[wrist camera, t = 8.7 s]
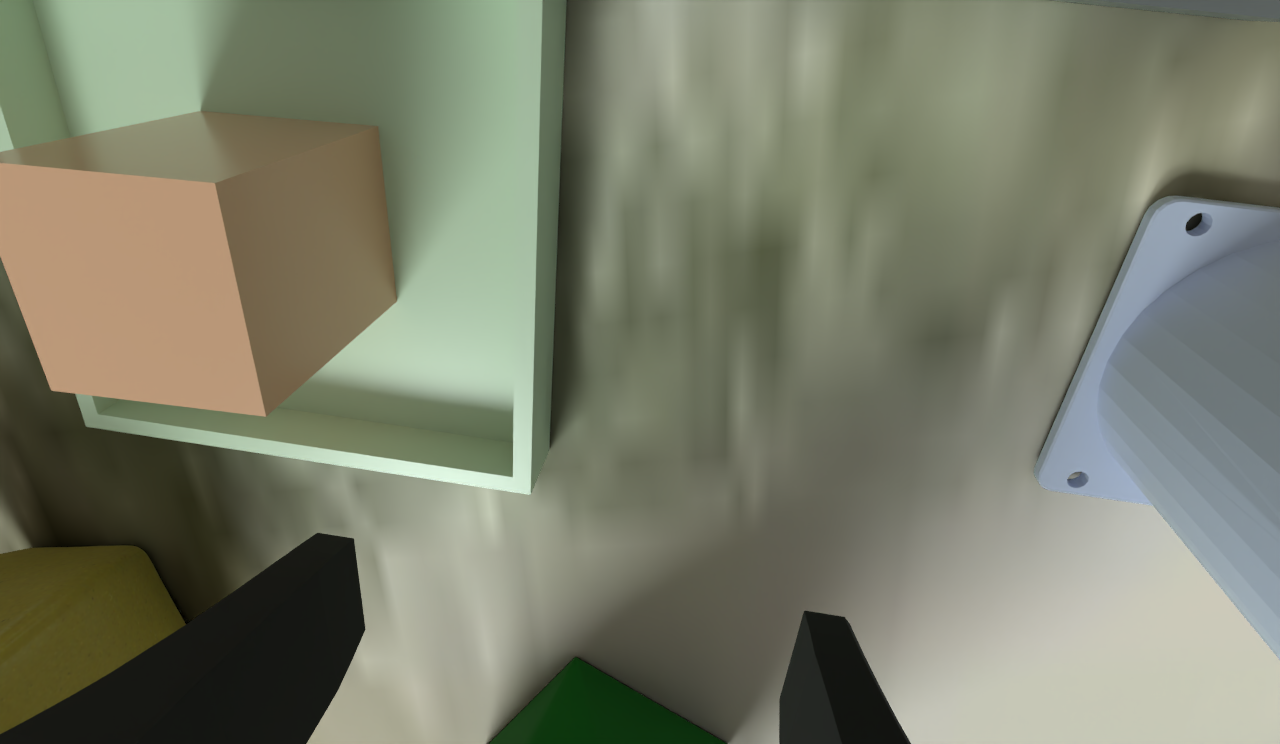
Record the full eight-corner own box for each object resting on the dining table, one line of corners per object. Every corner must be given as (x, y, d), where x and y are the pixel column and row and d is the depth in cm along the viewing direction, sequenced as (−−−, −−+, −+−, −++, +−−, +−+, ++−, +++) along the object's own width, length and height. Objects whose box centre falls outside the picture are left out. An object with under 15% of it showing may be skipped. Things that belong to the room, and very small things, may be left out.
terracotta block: (378, 126, 17) (214, 182, 12) (397, 301, 19) (265, 416, 14) (200, 110, 17) (-37, 159, 12) (238, 284, 19) (51, 390, 14)
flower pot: (-44, 503, 26) (-389, 726, 18) (165, 494, 24) (-111, 733, 16) (75, 672, 30) (-166, 916, 22) (262, 673, 28) (76, 936, 20)
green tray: (568, -49, 15) (544, -56, 13) (549, 449, 21) (530, 494, 19) (6, -106, 16) (-94, -121, 14) (142, 389, 22) (85, 426, 20)
